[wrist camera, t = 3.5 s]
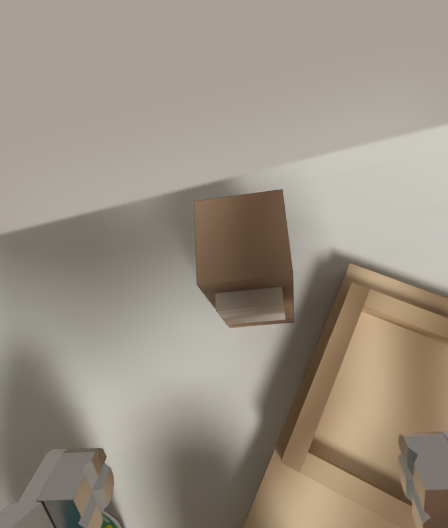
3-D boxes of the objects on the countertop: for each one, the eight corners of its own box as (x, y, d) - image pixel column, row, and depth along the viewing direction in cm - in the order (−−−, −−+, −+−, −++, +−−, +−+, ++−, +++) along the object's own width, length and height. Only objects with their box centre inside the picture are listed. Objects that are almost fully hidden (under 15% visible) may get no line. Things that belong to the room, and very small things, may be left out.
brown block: (230, 340, 25) (197, 303, 16) (226, 268, 26) (194, 201, 18) (295, 335, 24) (295, 293, 16) (286, 261, 26) (282, 189, 17)
